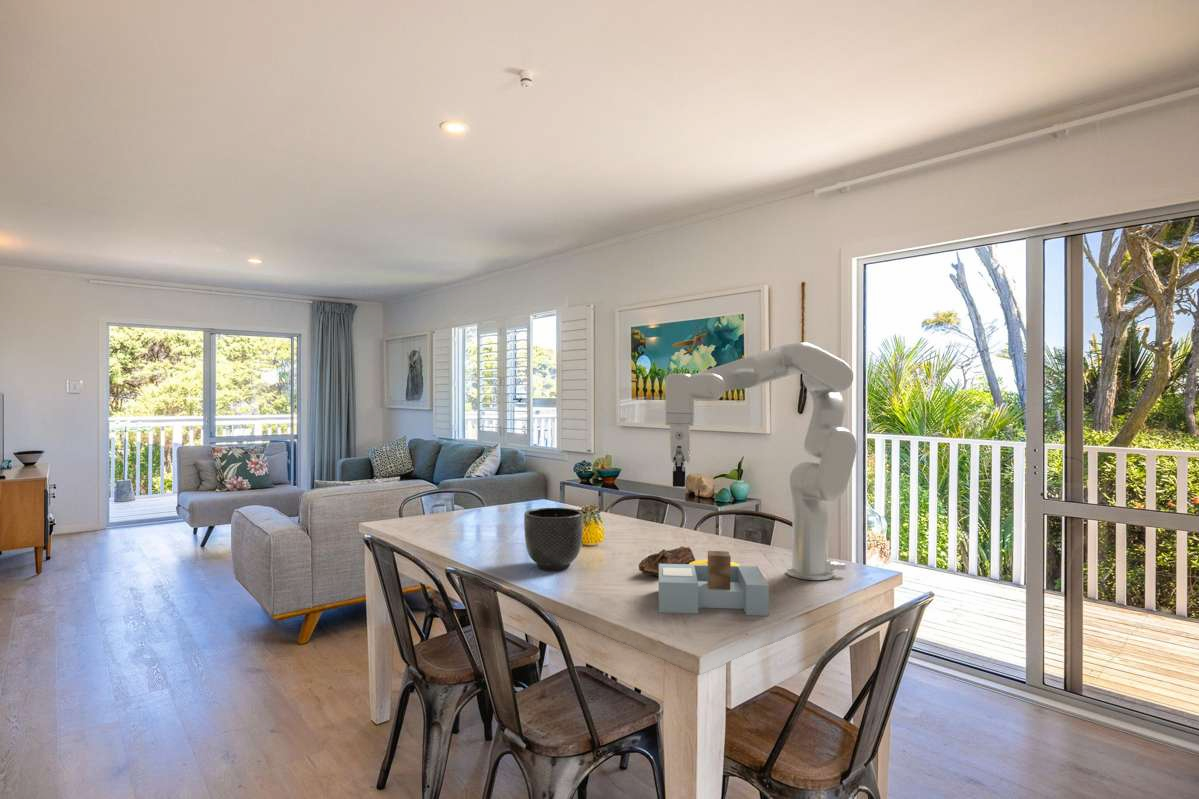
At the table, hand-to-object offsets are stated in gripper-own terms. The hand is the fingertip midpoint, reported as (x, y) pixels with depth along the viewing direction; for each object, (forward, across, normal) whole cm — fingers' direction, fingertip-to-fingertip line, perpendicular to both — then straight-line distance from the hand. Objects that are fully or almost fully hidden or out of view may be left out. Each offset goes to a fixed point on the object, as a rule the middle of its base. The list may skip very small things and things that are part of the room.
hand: (679, 484), depth 177 cm
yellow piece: (+27, +7, -10) cm, 30 cm away
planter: (+27, +13, +36) cm, 47 cm away
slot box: (+27, -14, -8) cm, 31 cm away
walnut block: (+23, -14, -10) cm, 29 cm away
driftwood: (+27, +13, +2) cm, 30 cm away
